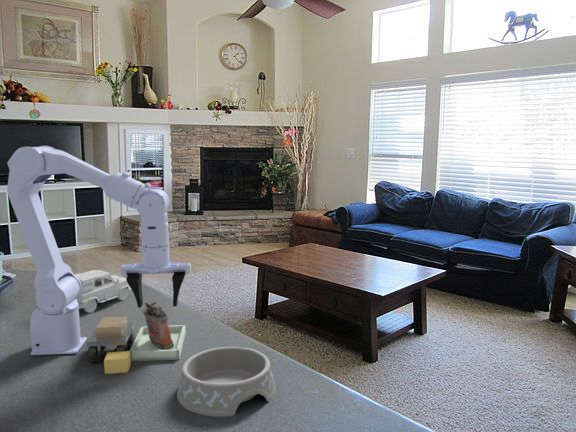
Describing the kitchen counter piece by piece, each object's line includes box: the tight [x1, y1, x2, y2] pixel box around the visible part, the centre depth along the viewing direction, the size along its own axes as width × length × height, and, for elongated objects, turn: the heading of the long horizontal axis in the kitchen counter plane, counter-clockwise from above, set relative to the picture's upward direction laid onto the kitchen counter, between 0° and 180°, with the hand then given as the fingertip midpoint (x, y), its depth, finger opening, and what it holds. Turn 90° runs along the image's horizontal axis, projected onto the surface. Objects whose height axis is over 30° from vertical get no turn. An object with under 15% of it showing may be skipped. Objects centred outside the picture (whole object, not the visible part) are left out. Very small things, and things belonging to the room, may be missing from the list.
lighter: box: [142, 299, 174, 350], centre depth 109 cm, size 8×3×10 cm, turn 42°
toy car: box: [74, 269, 132, 314], centre depth 138 cm, size 10×20×10 cm, turn 153°
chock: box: [103, 350, 132, 375], centre depth 100 cm, size 4×4×3 cm
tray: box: [129, 324, 187, 362], centre depth 111 cm, size 10×14×2 cm
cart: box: [86, 316, 136, 363], centre depth 107 cm, size 8×11×7 cm
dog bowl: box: [176, 346, 277, 417], centre depth 92 cm, size 17×18×5 cm
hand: (157, 305), depth 110 cm, fingers open, 7 cm apart
